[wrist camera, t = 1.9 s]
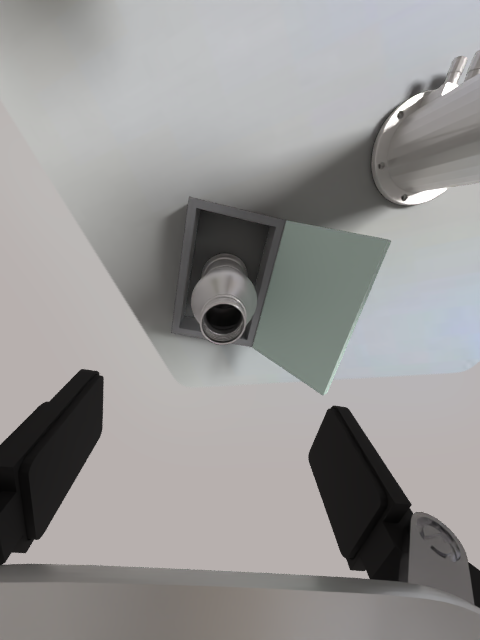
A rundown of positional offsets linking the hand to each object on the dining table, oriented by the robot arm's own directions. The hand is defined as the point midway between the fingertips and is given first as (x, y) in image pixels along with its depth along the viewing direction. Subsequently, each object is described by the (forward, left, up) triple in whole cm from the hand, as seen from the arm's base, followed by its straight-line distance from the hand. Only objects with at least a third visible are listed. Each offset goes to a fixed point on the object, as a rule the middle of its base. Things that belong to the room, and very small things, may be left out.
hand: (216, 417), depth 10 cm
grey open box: (0, 0, -30) cm, 30 cm away
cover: (0, +10, -20) cm, 22 cm away
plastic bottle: (0, 0, -30) cm, 30 cm away
